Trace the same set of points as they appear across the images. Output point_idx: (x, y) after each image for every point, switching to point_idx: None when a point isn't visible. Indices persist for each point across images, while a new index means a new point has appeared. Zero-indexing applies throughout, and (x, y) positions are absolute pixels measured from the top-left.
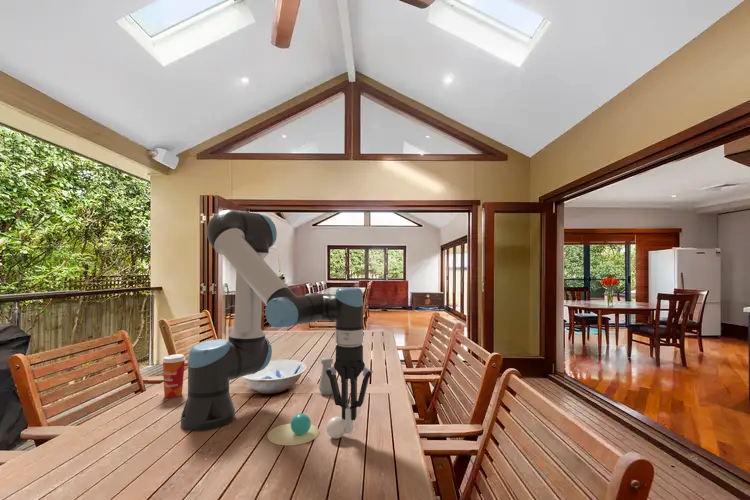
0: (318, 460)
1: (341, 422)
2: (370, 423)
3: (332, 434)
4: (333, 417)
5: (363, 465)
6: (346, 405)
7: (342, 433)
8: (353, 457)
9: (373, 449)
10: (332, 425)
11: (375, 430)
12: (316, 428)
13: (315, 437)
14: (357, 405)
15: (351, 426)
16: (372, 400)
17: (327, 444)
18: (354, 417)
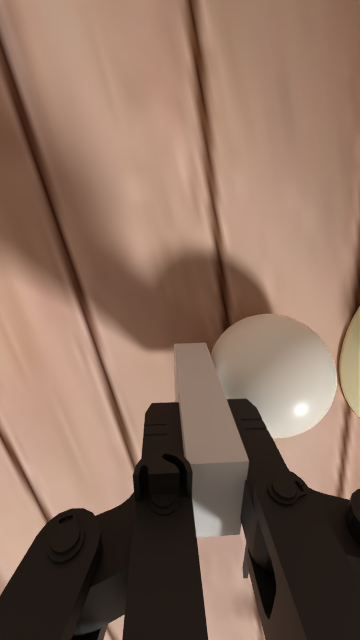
0: (301, 59)
1: (246, 376)
2: (129, 491)
3: (275, 314)
4: (317, 412)
5: (5, 36)
6: (250, 514)
7: (221, 336)
8: (103, 142)
9: (25, 262)
10: (301, 341)
11: (87, 443)
12: (355, 404)
13: (351, 324)
14: (97, 524)
15: (176, 379)
16: None
17: (281, 271)
18: (153, 418)
